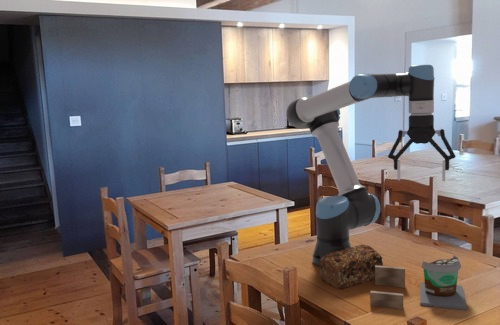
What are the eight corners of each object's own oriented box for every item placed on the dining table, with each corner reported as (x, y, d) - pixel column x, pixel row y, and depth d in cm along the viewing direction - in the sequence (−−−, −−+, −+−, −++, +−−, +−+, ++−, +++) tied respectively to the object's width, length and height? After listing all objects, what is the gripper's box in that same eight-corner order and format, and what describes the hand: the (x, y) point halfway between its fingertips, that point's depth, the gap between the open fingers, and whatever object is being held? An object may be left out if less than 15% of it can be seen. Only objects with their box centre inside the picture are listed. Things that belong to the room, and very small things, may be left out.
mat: (420, 305, 131) (420, 302, 131) (420, 284, 145) (420, 282, 145) (466, 310, 127) (466, 307, 127) (462, 288, 141) (462, 285, 141)
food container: (436, 301, 131) (436, 268, 130) (421, 293, 137) (421, 261, 136) (470, 293, 135) (470, 261, 134) (454, 286, 141) (455, 254, 140)
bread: (363, 268, 161) (362, 240, 160) (384, 278, 152) (384, 249, 150) (318, 279, 153) (318, 251, 152) (338, 291, 144) (337, 260, 142)
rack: (370, 305, 133) (370, 285, 132) (375, 283, 148) (375, 265, 147) (403, 309, 130) (403, 288, 129) (405, 286, 145) (405, 267, 144)
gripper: (379, 116, 148) (380, 181, 151) (465, 113, 139) (464, 182, 142) (381, 115, 155) (382, 177, 158) (463, 112, 146) (462, 178, 149)
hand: (420, 180), depth 150 cm, fingers open, 13 cm apart
